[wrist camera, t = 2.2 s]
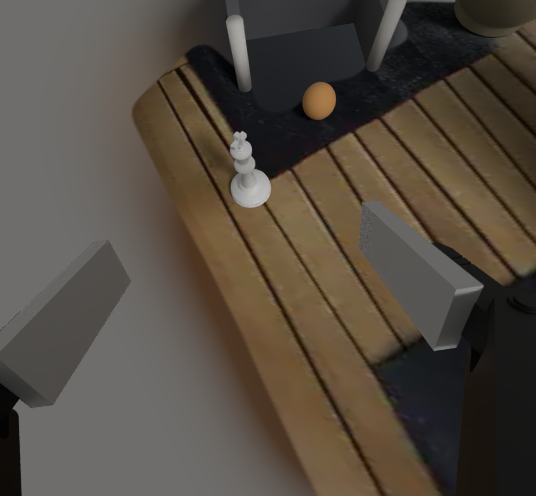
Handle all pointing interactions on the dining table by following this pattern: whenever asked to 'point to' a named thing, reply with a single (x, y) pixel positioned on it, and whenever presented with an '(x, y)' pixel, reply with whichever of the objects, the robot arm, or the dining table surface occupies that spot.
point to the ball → (319, 101)
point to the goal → (310, 25)
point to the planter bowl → (494, 15)
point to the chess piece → (247, 175)
